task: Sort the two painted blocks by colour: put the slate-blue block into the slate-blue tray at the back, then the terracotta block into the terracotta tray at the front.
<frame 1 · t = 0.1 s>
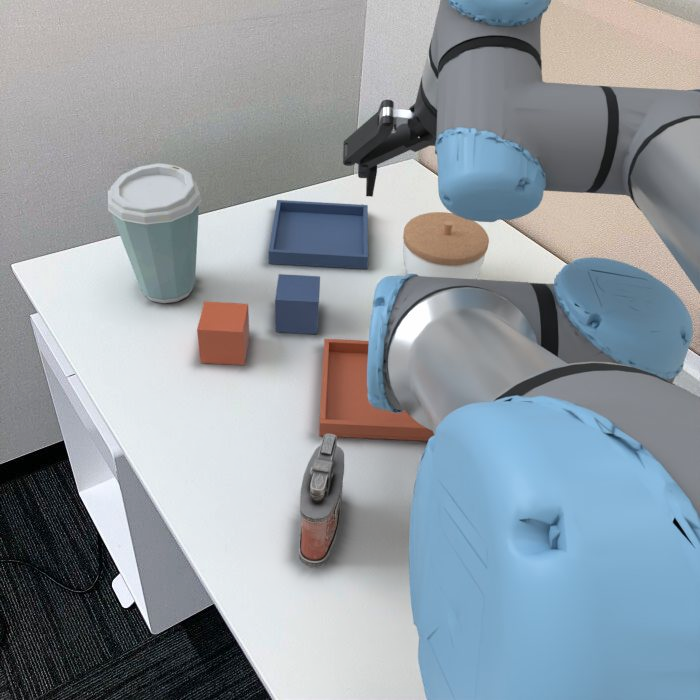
hand: (427, 188, 86), 15 cm above the table, tool tilted 35°, fingers open, 13 cm apart
trinket box: (437, 284, 98), on the table
terracotta tray: (380, 393, 82), on the table
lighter: (319, 530, 68), on the table
slate block: (297, 320, 90), on the table
terracotta block: (225, 349, 86), on the table
slate tray: (320, 239, 104), on the table
disposable coffee cup: (166, 289, 94), on the table
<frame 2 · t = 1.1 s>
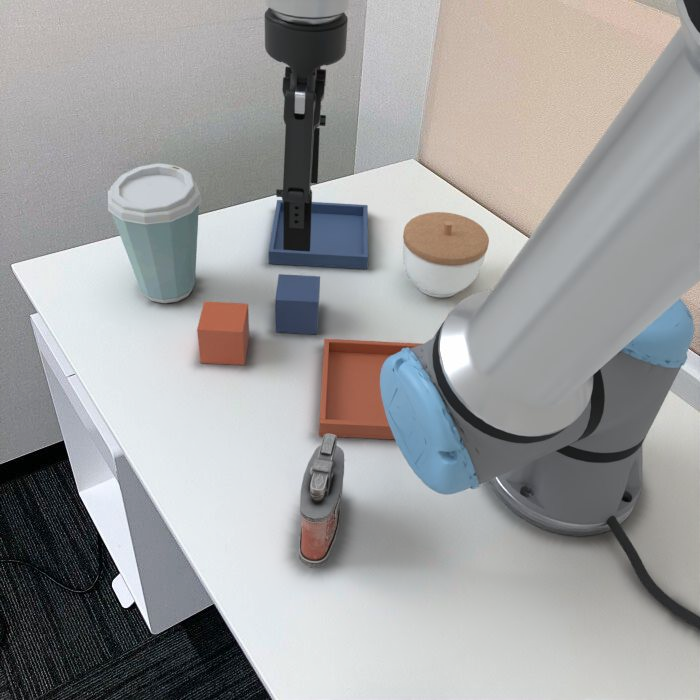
hand: (301, 213, 81), 15 cm above the table, tool pointing down, fingers open, 13 cm apart
nothing on the table moved.
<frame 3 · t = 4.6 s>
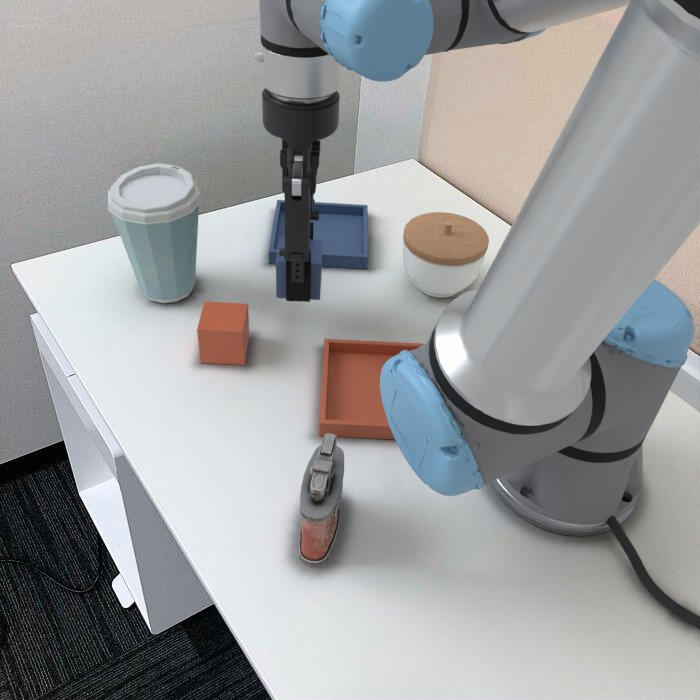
hand: (299, 284, 86), 6 cm above the table, tool pointing down, fingers closed on slate block, 5 cm apart
slate block: (299, 286, 87), point 5 cm above the table, touching gripper
everything else where it was.
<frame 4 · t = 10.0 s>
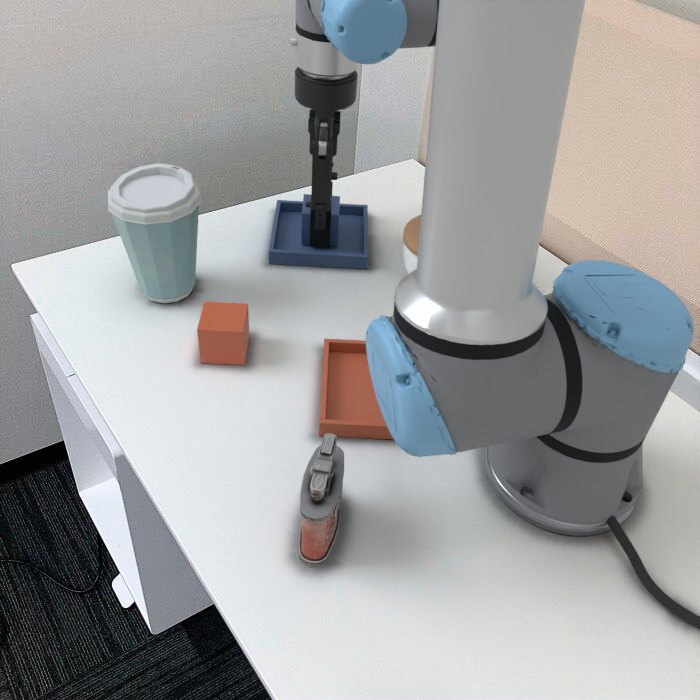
hand: (320, 233, 103), 1 cm above the table, tool pointing down, fingers closed on slate block, 5 cm apart
slate block: (319, 235, 103), point 1 cm above the table, touching gripper
everything else where it was.
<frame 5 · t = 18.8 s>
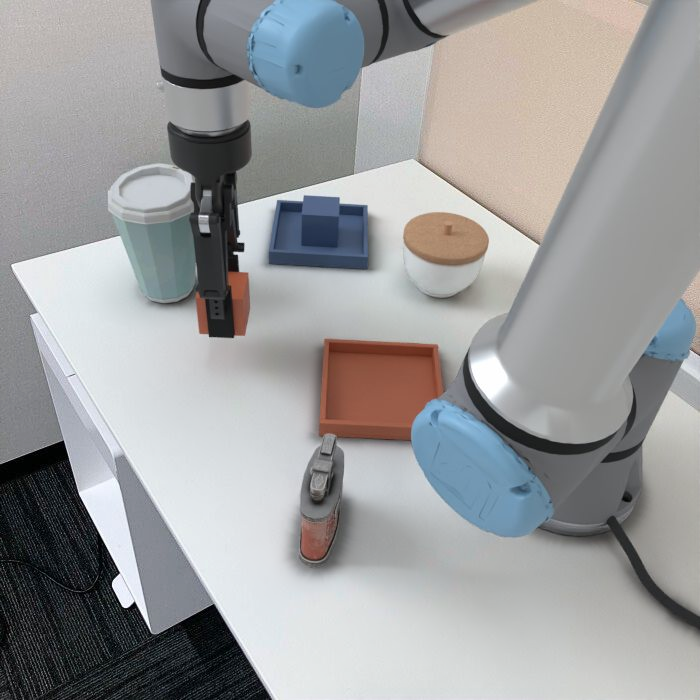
hand: (225, 318, 82), 5 cm above the table, tool pointing down, fingers closed on terracotta block, 5 cm apart
slate block: (319, 236, 103), resting on slate tray
terracotta block: (225, 320, 82), point 5 cm above the table, touching gripper
everything else where it was.
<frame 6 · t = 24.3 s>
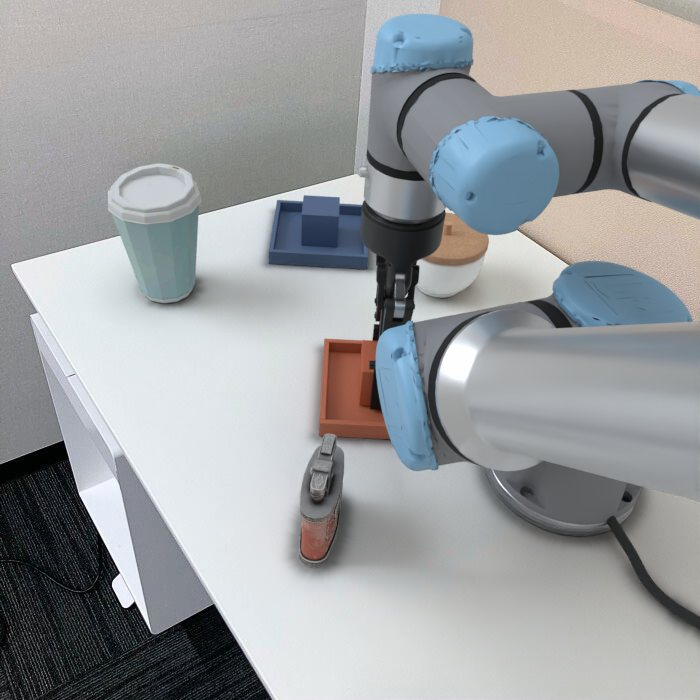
hand: (382, 388, 81), 1 cm above the table, tool pointing down, fingers closed on terracotta block, 5 cm apart
terracotta block: (381, 390, 81), point 1 cm above the table, touching gripper
everything else where it was.
when the fingers open (1 cm above the table, at t = 26.4 s): terracotta block stays where it is, resting on terracotta tray.
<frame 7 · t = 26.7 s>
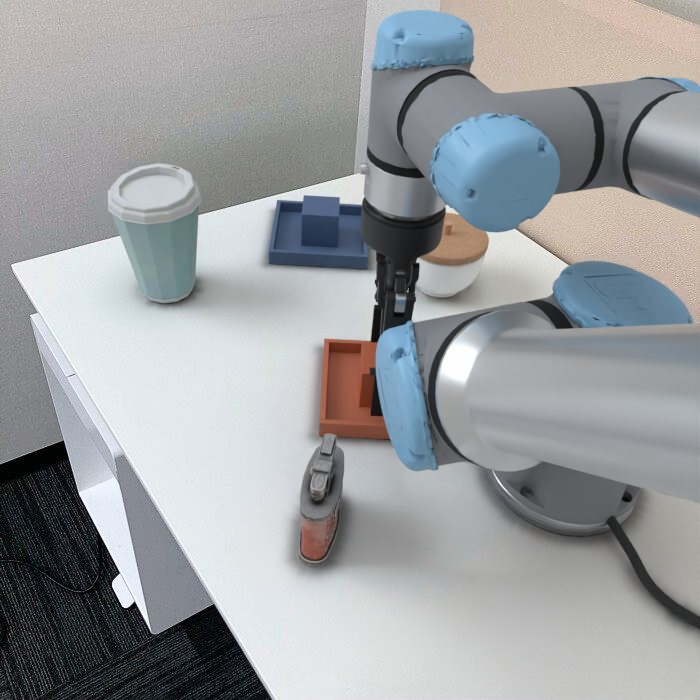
hand: (382, 381, 81), 2 cm above the table, tool pointing down, fingers open, 9 cm apart
terracotta block: (381, 391, 81), resting on terracotta tray
everything else where it was.
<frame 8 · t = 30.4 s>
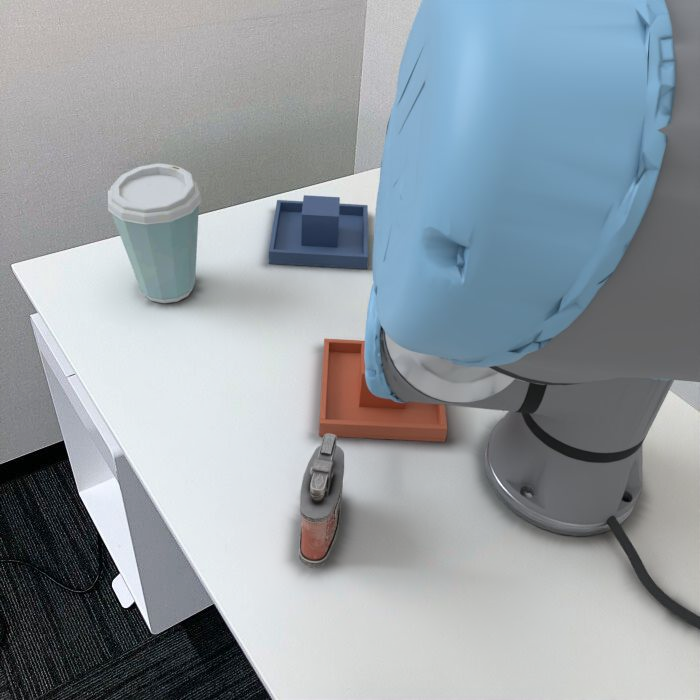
hand: (464, 130, 72), 27 cm above the table, tool pointing down, fingers open, 13 cm apart
nothing on the table moved.
at the end: slate block inside the target area in the slate tray (0.1 cm from its centre), point 0.5 cm above the slate tray's base; terracotta block inside the target area in the terracotta tray (0.1 cm from its centre), point 0.5 cm above the terracotta tray's base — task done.
